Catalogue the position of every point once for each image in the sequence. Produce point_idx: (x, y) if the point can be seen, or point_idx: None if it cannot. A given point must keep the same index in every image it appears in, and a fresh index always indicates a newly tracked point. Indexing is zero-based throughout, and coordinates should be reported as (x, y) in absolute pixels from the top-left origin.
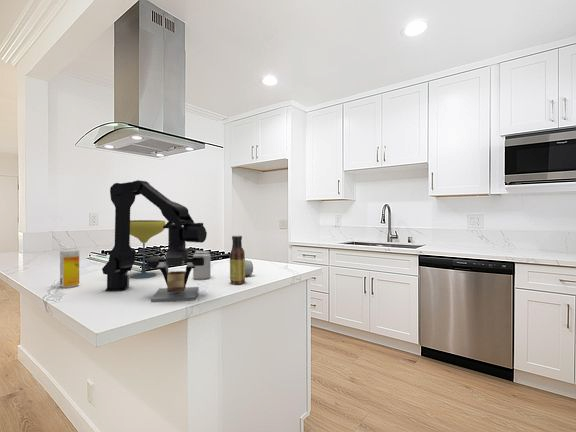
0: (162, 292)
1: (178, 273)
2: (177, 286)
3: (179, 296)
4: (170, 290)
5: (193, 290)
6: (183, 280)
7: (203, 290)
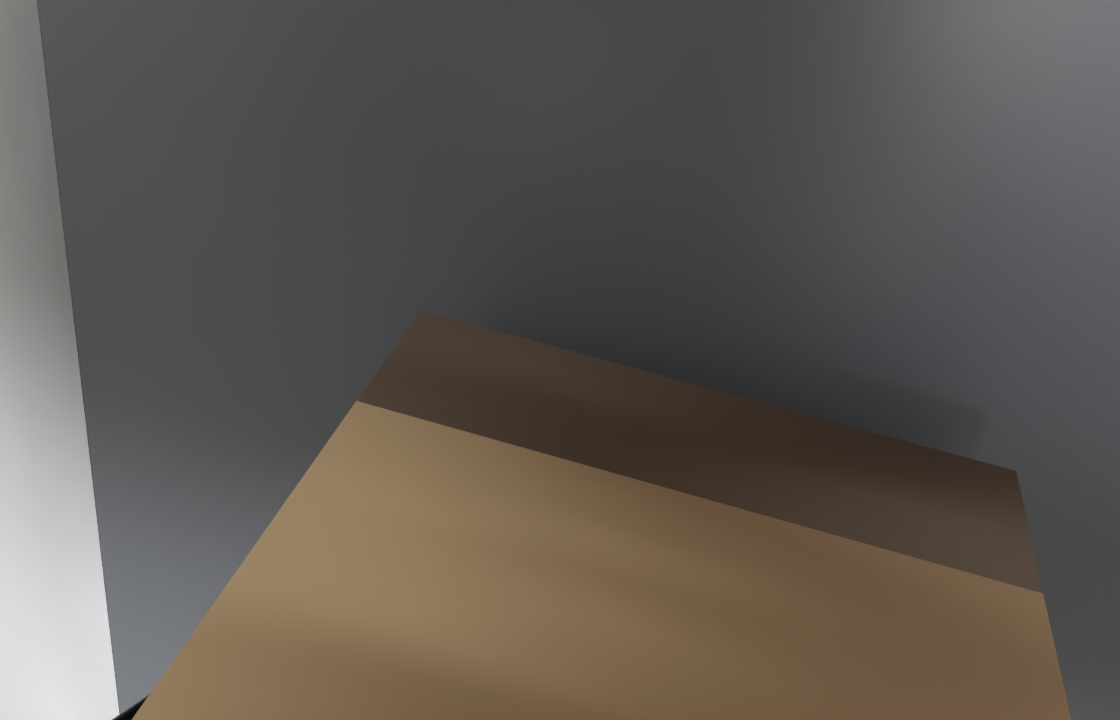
0: (1069, 711)
1: None
2: (602, 496)
3: (609, 12)
4: (897, 471)
5: (200, 522)
6: (229, 616)
7: (42, 582)
